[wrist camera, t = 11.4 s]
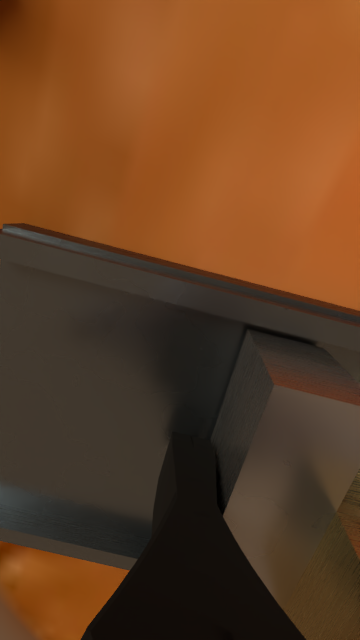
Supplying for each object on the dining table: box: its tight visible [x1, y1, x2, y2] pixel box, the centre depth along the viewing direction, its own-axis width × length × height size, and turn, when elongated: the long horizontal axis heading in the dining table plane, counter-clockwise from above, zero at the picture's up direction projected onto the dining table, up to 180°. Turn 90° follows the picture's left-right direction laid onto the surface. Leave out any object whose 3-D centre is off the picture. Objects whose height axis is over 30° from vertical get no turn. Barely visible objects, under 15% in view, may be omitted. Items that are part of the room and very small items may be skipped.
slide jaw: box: [210, 329, 360, 610], centre depth 10 cm, size 2×10×4 cm, turn 166°
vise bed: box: [0, 223, 360, 570], centre depth 10 cm, size 18×12×5 cm, turn 76°
